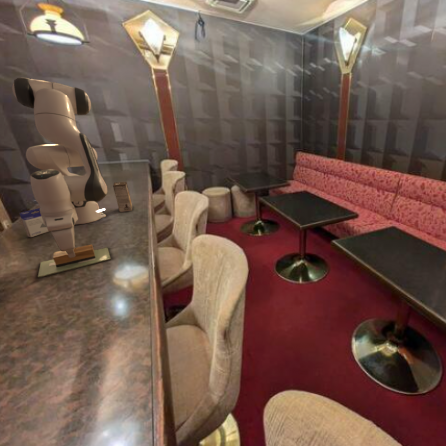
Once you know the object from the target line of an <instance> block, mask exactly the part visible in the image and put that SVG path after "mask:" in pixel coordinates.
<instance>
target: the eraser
mask: <svg viewBox="0 0 446 446" xmlns="http://www.w3.org/2000/svg"><path fill="white" fill-rule="evenodd" d="M94 250H95V249H94V247H93V244H88V245H83V246H82V245H81V246H78V247H75V248H74V252H75V257H72V258H69V257H68V254H67V253H66V251H61V250H59V251H54V252H53V255H52V260H53V259H54V262H55V264H56V267H61V266H65V265H69V264H73V263H77V262H82V261H86V260H90V259H94V258H95V253H94Z"/></svg>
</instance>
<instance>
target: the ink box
mask: <svg viewBox="0 0 446 446" xmlns="http://www.w3.org/2000/svg"><path fill="white" fill-rule="evenodd" d="M18 214H19V217H20V220H21V222H22V225H23V228H24V231H25V233H26V235H27V237H28V238H35V237H36V236H39V235H42V234H47V233H49V232H50V231H48V229H47V226H46V225H45V224H44V221H43V219H42V216H41V213H40V207H38V208H33V209H30V210H25V211H21V212H18Z"/></svg>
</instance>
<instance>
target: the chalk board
mask: <svg viewBox="0 0 446 446" xmlns="http://www.w3.org/2000/svg"><path fill="white" fill-rule="evenodd" d="M93 250H94V253H95V258H94V259H90V260H86V261H82V262H77V263H73V264H69V265H65V266H61V267H56V264H55V262H54V259H53V258H52V259H49V260H43V261H40V263H39V270H38V275H37V278H43V277H44V278H45V277H47V276H51V275H55V274H60V273H63V272H67V271H71V270H75V269H80V268H83V267H87V266H91V265H95V264H99V263H104V262H108V261H111V260H112V258H111V255H110V252H109V248H108V247H103V248H98V249H93Z"/></svg>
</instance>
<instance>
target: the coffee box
mask: <svg viewBox="0 0 446 446" xmlns="http://www.w3.org/2000/svg"><path fill="white" fill-rule="evenodd" d="M112 187H113V192H114V196H115V200H116V203H117V207H118V211H119V213H124V212H131V211H133V204H132V200H131V196H130V195H131V194H130V191H129V187H128V182H127V181H119V182H113V185H112Z"/></svg>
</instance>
